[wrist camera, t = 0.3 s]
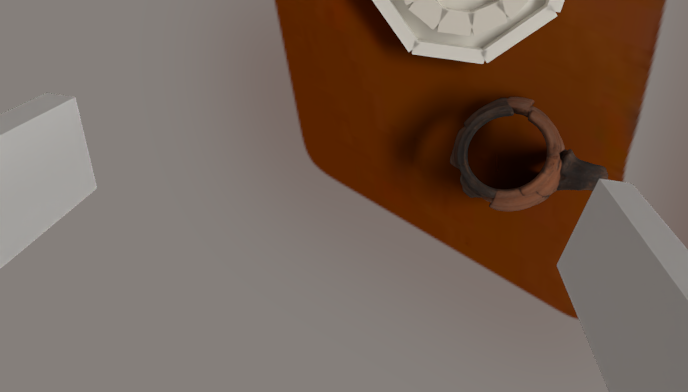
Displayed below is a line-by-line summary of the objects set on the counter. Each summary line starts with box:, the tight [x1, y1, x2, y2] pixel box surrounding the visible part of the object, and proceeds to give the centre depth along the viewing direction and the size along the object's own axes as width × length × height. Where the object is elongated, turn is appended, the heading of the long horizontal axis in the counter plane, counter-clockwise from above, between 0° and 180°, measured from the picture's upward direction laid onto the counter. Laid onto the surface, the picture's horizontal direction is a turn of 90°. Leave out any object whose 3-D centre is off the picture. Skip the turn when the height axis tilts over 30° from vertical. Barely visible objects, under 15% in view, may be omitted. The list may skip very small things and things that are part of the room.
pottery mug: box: [450, 97, 608, 211], centre depth 36 cm, size 12×10×8 cm
